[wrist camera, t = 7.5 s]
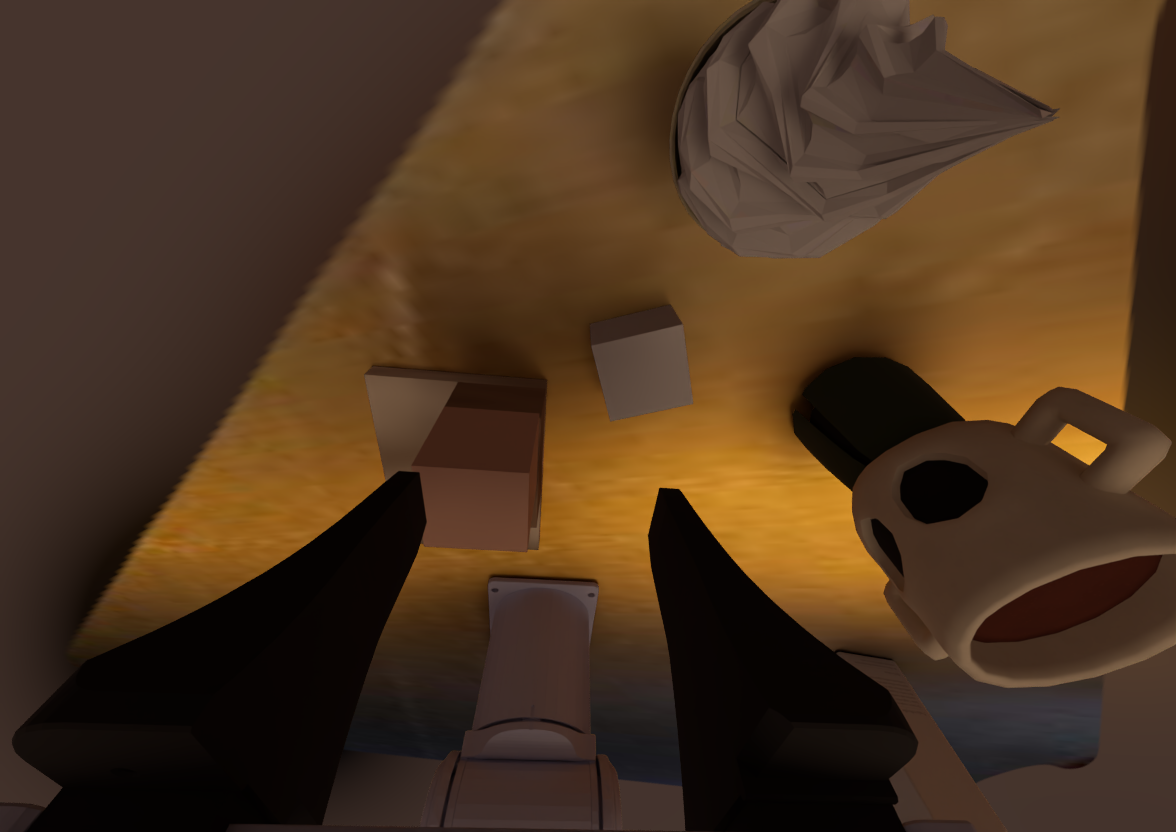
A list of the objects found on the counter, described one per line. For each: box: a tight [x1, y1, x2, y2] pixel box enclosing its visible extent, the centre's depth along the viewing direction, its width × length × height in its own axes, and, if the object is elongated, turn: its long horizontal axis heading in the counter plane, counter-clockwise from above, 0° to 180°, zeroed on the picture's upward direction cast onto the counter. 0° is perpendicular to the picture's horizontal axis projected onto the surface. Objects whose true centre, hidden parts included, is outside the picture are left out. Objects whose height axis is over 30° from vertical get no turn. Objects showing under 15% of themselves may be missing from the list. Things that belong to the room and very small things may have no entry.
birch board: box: [364, 366, 547, 550], centre depth 25 cm, size 12×9×1 cm
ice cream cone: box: [669, 0, 1059, 258], centre depth 10 cm, size 5×5×15 cm
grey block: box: [590, 305, 693, 421], centre depth 20 cm, size 4×4×3 cm
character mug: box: [793, 357, 1176, 688], centre depth 18 cm, size 11×7×13 cm, turn 171°
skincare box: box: [836, 652, 1007, 832], centre depth 32 cm, size 6×4×12 cm
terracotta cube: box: [411, 406, 539, 552], centre depth 18 cm, size 4×4×4 cm
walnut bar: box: [445, 382, 546, 528], centre depth 22 cm, size 7×4×3 cm, turn 175°
